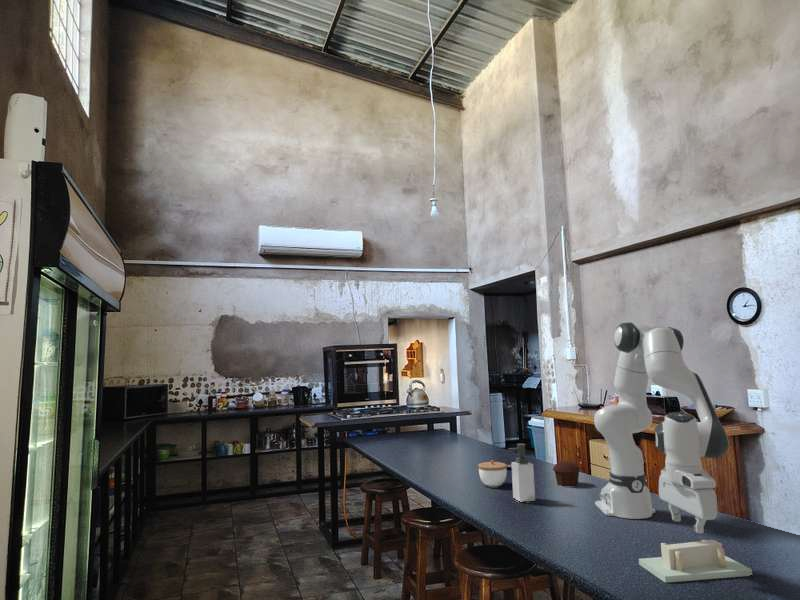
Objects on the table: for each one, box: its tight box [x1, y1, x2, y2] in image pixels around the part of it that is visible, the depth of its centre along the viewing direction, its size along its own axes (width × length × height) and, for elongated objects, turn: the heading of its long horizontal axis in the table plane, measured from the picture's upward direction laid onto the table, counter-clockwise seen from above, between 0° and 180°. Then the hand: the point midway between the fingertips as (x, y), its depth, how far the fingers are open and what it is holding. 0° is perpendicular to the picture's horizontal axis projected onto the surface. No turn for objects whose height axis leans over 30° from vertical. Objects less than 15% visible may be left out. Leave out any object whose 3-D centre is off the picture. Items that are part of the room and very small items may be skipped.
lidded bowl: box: [477, 459, 508, 487], centre depth 238 cm, size 13×13×11 cm
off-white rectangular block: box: [660, 539, 723, 569], centre depth 142 cm, size 16×3×5 cm, turn 101°
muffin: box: [552, 460, 581, 487], centre depth 236 cm, size 12×11×10 cm
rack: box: [638, 539, 753, 584], centre depth 142 cm, size 24×12×6 cm, turn 96°
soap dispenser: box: [507, 443, 536, 502], centre depth 213 cm, size 6×9×22 cm
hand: (687, 526), depth 143 cm, fingers open, 8 cm apart
